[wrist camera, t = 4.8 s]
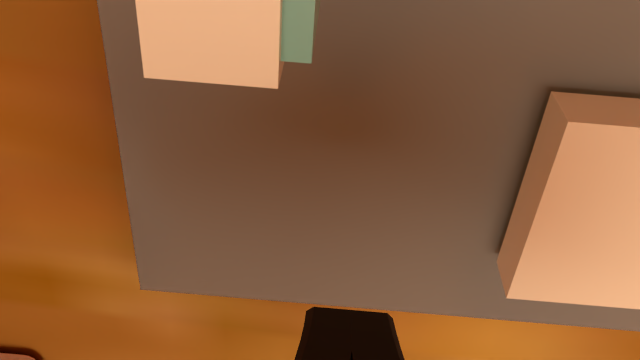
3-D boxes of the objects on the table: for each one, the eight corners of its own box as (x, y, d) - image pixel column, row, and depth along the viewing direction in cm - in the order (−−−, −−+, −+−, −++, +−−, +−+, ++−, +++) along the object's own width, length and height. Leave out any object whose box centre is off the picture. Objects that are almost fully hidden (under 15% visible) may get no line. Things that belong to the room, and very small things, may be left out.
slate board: (747, 325, 18) (758, 341, 18) (146, 274, 18) (140, 289, 18) (1427, -636, 8) (1501, -662, 7) (3, -748, 8) (-21, -782, 7)
